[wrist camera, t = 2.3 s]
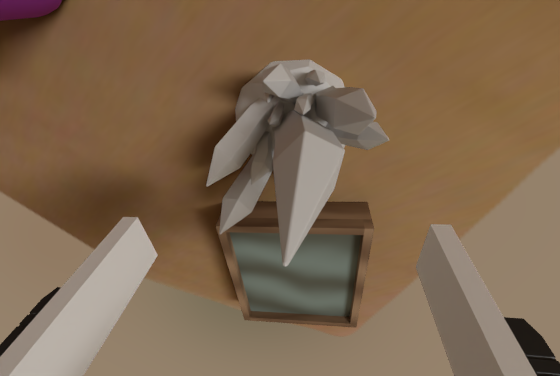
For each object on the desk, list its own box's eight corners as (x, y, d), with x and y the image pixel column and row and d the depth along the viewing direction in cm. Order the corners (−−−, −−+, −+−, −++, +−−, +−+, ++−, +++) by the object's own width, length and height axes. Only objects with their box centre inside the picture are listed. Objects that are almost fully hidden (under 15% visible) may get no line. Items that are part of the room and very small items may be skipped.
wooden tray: (225, 201, 28) (215, 226, 25) (367, 202, 26) (374, 228, 23) (250, 294, 39) (244, 320, 36) (352, 300, 37) (356, 327, 34)
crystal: (199, 136, 24) (84, 281, 12) (306, 10, 18) (290, 51, 6) (278, 200, 27) (250, 361, 15) (392, 114, 21) (495, 278, 9)
